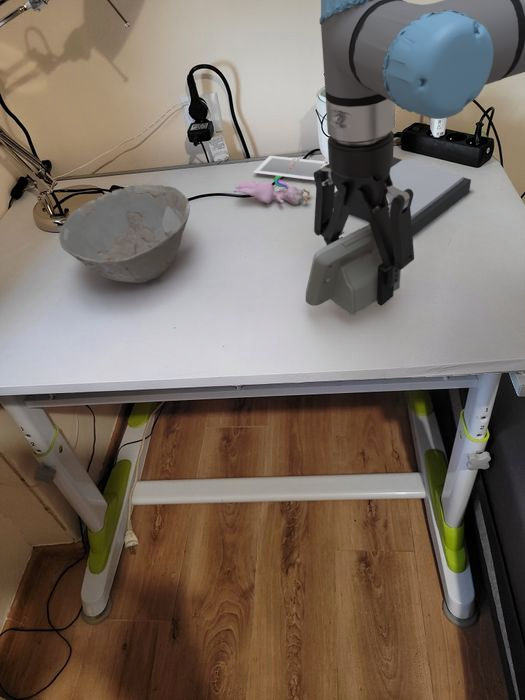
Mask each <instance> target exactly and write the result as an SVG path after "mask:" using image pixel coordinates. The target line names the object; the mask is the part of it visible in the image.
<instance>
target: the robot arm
mask: <svg viewBox="0 0 525 700" xmlns="http://www.w3.org/2000/svg"><path fill="white" fill-rule="evenodd" d="M319 25H320V32H321V33H320V35H321V47H322V61H323V77H324V78H323V79H324V89H325V90H324V92H325V111H326V127H327V130H326V131H327V133H328V136H329V137H328V139H327V157H328V162H329V164H327V165H325V166H324V167H322V168H321V169H319V170H317V171H316V172H314V180H313V181H314V184H315V204H314V223H313V232H314V234H315V235H316V236H317V237H318V236H319V237H320V236H321V237H322V238H323V241H324V242H325V243H326V246H327V245H329V244H331V243H333V242H335V241H337V240H339V239H341V238H343V237H344V236H342V235H343V234H344V233H345V231H344V228H345V226H346V224H347V221H348V219H349V216H350V214H349V213H350V211H351V208H352V207H353V208H357V209H359V210H360V211H362V212H363V215H364V218H365V220H364V221H366V222H368V224H370V226H371V229H372V232H373V235H374V238H375V241H376V244H377V248H378V251H379V254H380V257H381V260H382V264H380V265H379V266H378V286H377V301H376V304H377V306H380V307H383V306H384V305H385V304H386V303H387V302H389V300H391V299H392V298H394V292H395V291H394V284H396V283H397V282H398V280H399V270H401V271H402V270H403V269H404V268H406V267H407V266H408V265H409V264H410V263H412V262H413V261H414V260H415V251H414V250H415V249H414V238H413V237H414V236H412V223H411V211H410V207H411V203H412V199H413V191H412V190H411V189H406V190H405V191H401V190H400V189H398V188H396V187H394V186H393V183H392V180H391V177H390V169H391V166H392V162H393V157H394V149H395V148H394V144H395V141H394V139H395V133H394V132H393V129H394V128H395V125H396V106H398V107H399V108H400V109H401V110H405V111H407V112H408V113H415V114H416V115H421V116H424V117H426V118H428V119H434V120H441V119H442V120H443V119H448V118H451V117H453V116H456V115H458V114H459V113H461V112H462V111H463V110H464V108H465V107H466V106H468V105H469V104H470V103H472V102H473V101H475V100H476V99H477V98H478V96H479V95H480V94H481V92H482V91H483V89H484V88H485V86H487V85H489V84H493V83H495V82H499V81H502V80H504V79H506V78H510V77H513V76H517V75H520V74H523V73H525V0H439V1H436V2H433V3H428V4H419V3H414V2H408V1H406V0H320V17H319ZM335 190H336V191H337V192H338V193H337V196H336V199H335V202H334V193H335V192H336V191H335ZM386 196H387V197H388V199H389V204H388V200H387V197H386ZM333 203H334V206H335V207H334V208H333ZM377 206H378V207H377ZM376 207H377V208H376ZM374 208H376V209H375V210H373V209H374ZM389 209H390V217H389V213H388V211H389Z"/></svg>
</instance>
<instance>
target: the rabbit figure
mask: <svg viewBox="0 0 525 700" xmlns="http://www.w3.org/2000/svg"><path fill="white" fill-rule="evenodd" d="M281 178H283V176H276V175H275V177H274V178H273V183H274V184H275V186H276V187H278V188H280V189H279V190H275V187H274V185H273V184H272V183H270V182H268V181H261V182H255V181H249V180H248V181H243V182H241V183H239V184H237V185H236V186H234V190H233V193H242V194H245V195H248V196H251V197H254V198H256V200H258V201H259V202H262V203H263V204H264V203H265V204H270V203H271V202H273V201H275V199H277V201H278V202H279V203H281V204H284V202H285V201H287V202H288V203H290V204H292V205H294V206H296V205H297V206H298V205H300V203H301V201H302V200H305V205H306V206H308V200H309V198H310V195H311V192H310V191H311V190H310V189H308V190H306V189H305V188H303V189H299V188H298V187H296V186H290V185H289V184H288V183H287V182H285V181H284V180H282V179H281ZM304 193H306V194H307V196H306V197H305V196H303V195H304Z"/></svg>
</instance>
